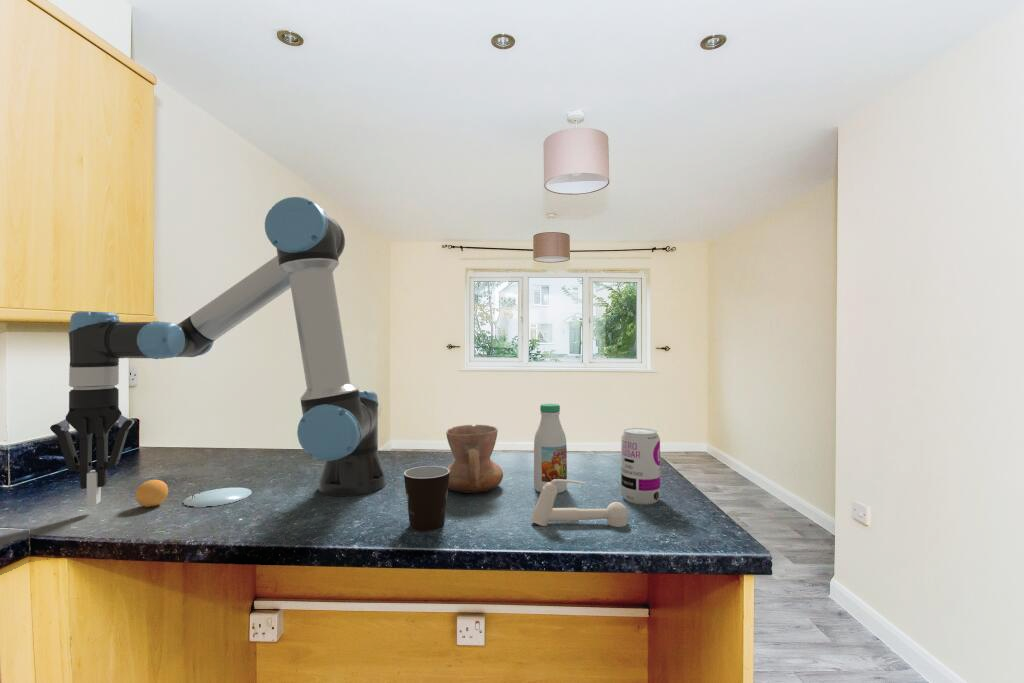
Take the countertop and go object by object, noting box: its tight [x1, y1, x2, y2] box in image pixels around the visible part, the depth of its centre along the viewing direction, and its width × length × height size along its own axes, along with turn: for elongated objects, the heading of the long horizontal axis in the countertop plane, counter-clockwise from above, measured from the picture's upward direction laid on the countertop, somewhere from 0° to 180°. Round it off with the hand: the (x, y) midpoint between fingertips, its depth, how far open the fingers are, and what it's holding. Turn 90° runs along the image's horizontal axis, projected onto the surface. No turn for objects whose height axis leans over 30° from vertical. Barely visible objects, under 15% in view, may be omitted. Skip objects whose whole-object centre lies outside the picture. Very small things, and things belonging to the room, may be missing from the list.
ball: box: [135, 479, 169, 508], centre depth 98 cm, size 6×6×6 cm
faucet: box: [530, 479, 629, 528], centre depth 88 cm, size 4×18×10 cm, turn 91°
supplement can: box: [620, 427, 661, 506], centre depth 102 cm, size 8×8×15 cm
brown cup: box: [403, 465, 450, 532], centre depth 89 cm, size 12×9×10 cm
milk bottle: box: [533, 403, 568, 494], centre depth 109 cm, size 8×8×20 cm
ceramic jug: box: [445, 424, 504, 494], centre depth 109 cm, size 18×14×14 cm
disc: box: [182, 487, 253, 508], centre depth 104 cm, size 13×13×1 cm
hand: (93, 503), depth 94 cm, fingers closed
